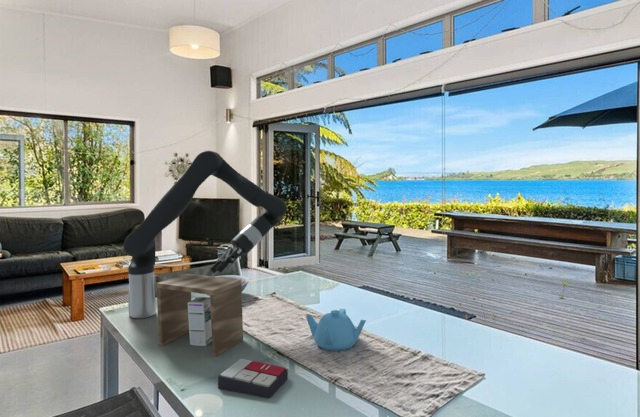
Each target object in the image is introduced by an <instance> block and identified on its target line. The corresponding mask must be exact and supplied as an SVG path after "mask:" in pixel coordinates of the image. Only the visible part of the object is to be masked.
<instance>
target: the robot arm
mask: <svg viewBox="0 0 640 417" xmlns="http://www.w3.org/2000/svg"><path fill="white" fill-rule="evenodd" d="M210 176H213V177H215V178H218V179H219V180H221V181H222V182H223V183H226V184H227V185H228V186H229V187H230V188H231V189H232V190H234V191H235V192H236V193H237V194H238V195H239V196H241V198H242V199H244V200H245V201H247V202H248V203H249V204H250V205H252V206H254V207H257V208H259V207H260V208H263V209H264V212H263V213H261V214H260V215H258V216H256V217H255V218H254V219H253V220H252V221H251V222H250V223H249V224H248V225H247V226H245V227H244V228H243V229H241V230H240V231H239V233H238V234H236V235H235V236H234V237H233V238H232V239H231V241H230V244H231V246H232V247H230V248H228V249H226V251H225V252H224V253H223V254H222V255H221V256H220V257H219V258H218V259H216V262H215V263H214V264H213V265H212V266H211V267H210V269H209V270H210V272H212V273H213V274H215V273H216V272H219V273H222V272H223V271H224V270H225V269H226V268H227V267H228V266H230V265H231V264H234V262H235V261H236V260H237V259H238V258H239V257H240V256H247V254H248V253H250V251H252V250H253V248H255V246H257V245H258V244H259V243H260V241H261V240H262V239H263V238H264V237H265V236H266V235H267V234H268V232H269V231H270V230H271V229H273V228H274V227H276V226H277V225H278V224H279V223H280V222H281V221H282V220H283V218H284V217H285V215H286V213H287V211H288V205H287V204H286V202H285V200H283V199H281V198H280V197H278V196H276V195H274V194H272V193H270V192H267V191H265V190H264V189H263V188H262V187H260V186H258V185H257V183H256V184H255V183H254V182H253V181H251V180H249V179H248V177H245V176H244V175H242V174H241V173H240V172H238V170H236V169H235V168H233V167H232V166H231V165H230V164H229V163H228V162H227V161H226V160H225V159H224V158H223V157H222V156H221V154H220V153H218V152H216V151H212V150H203V151H200V152H199V153H198V154H196V156H195V157H194V159H193V161H192V162H191V164H190V165H189V166H188V168H187V169H186V171H185V172H184V174H182V176H181V177H180V178H179V179H178V180H177V181H176V182H175V183H174V184H173V185H172V186H171V187H170V189H169V190H167V192H166V193H165V194H164V195H163V196H162V197H161V198H160V200H159V201H158V202H157V204H156V205H155V206H154V207H153V208H152V210H151V211H150V212H149V214H147V216H146V218H145V219H144V220H143V221H142V222H141V223H140V224H139V225H138V226H137V227H136V228H135V229H134V230H133V231H132V232H130V233H129V234H128V235H127V236H126V237H125V239H124V241H123V245H122V246H123V251H124V252H125V254H126V255H128V256H129V257H131V261H130V264H128V267H127V268H128V269H127V270H128V282H129V283H128V284H129V285H128V286H129V289H128V292H127V301H128V302H127V303H128V316H130V317H131V318H133V319H145V318H149V317H153V316H155V315H156V314H157V308H156V304H157V303H156V285H155V284H156V282H155V264H156V240H155V238H156V237H157V236H158V235H159V234H160V232H162V231H163V230H164V229H166V228H167V227H168V226H169V225H171V224H172V223H173V222H174V221H176V219H178V217H180V216H181V215H182V213H183V212H185V210H186V209H187V208H188V207H189V205H190V203H191V202H192V200H193V198H194V196H195V194H196V192H197V191H198V189H199V187H200V186H201V185H202V184H203V183H204V182H205V181H206V180H207V179H208V178H209V177H210Z"/></svg>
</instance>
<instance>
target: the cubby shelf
mask: <svg viewBox="0 0 640 417" xmlns="http://www.w3.org/2000/svg"><path fill="white" fill-rule="evenodd" d="M155 284H156V285H155V287H156V301H157V302H156V304H157V322H158V325H157V326H158V343H159V344H158V345H159V346H162V347H163V346H165V345H167V344H169V343H170V342H173V341H175V340H177V339H178V338H181V337H183V336H185V335H187V334H189V319H188V302H190V301H192V293H193V294H203V295H206V294H208V295H210V296H209V298H210V302H211V330H212V341H211V351H212V352H211V354H212V357H215V358H216V357H218V356H220V355H222V354H223V353H225V352H226V351H228V350H229V349H231V348H233V347H234V346H236V345H238V344H240V343H241V342H242V341H243V340H244V326H243V325H244V324H243V323H244V321H243V291H242V284H241V279H232V278H223V277H214V276H213V275H202V274H194V273H185V274H181V275H178V276H175V277H171V278H168V279H164V280H161V281H159V282H155ZM208 295H207V296H208Z"/></svg>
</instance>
